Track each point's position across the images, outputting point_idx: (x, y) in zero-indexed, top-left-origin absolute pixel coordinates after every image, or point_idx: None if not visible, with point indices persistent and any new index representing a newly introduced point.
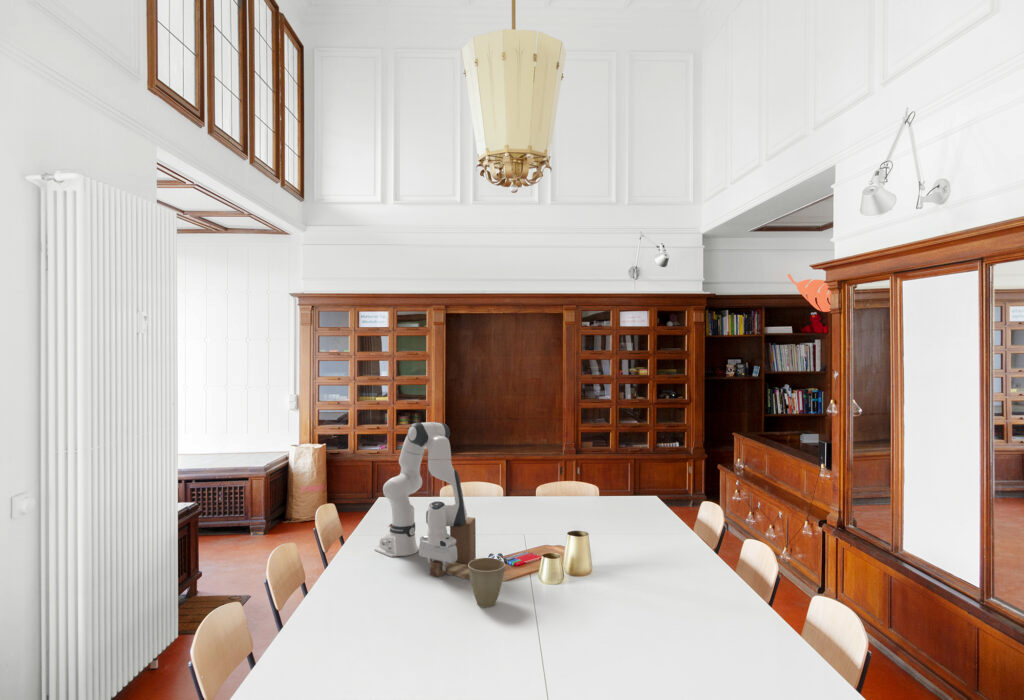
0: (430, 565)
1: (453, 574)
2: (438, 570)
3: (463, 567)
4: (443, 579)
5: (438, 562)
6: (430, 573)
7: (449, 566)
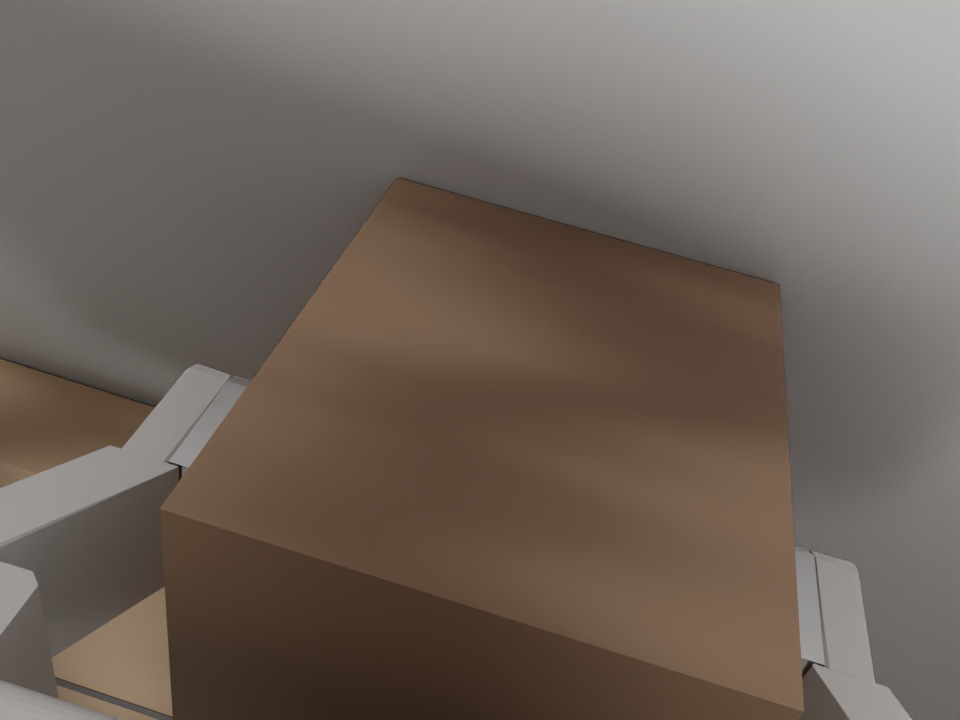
0: (770, 544)
1: (116, 410)
2: (318, 306)
3: None
4: (156, 50)
5: (313, 668)
6: (765, 313)
7: None
